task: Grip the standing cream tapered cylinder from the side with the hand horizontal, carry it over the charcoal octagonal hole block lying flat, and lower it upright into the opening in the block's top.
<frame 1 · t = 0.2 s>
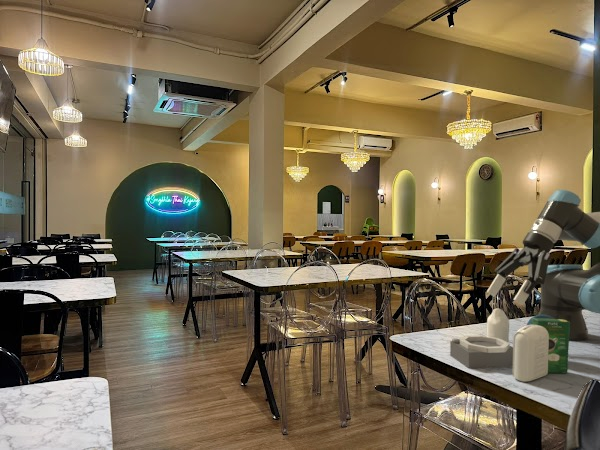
hand: (503, 298, 123), 15 cm above the table, tool tilted 35°, fingers open, 13 cm apart
octagonal hole block: (484, 360, 113), on the table
photo printer: (530, 377, 101), on the table, touching coffee box
coffee box: (549, 372, 105), on the table, touching photo printer
light bulb: (543, 359, 115), on the table
cream tapered cylinder: (497, 349, 124), on the table
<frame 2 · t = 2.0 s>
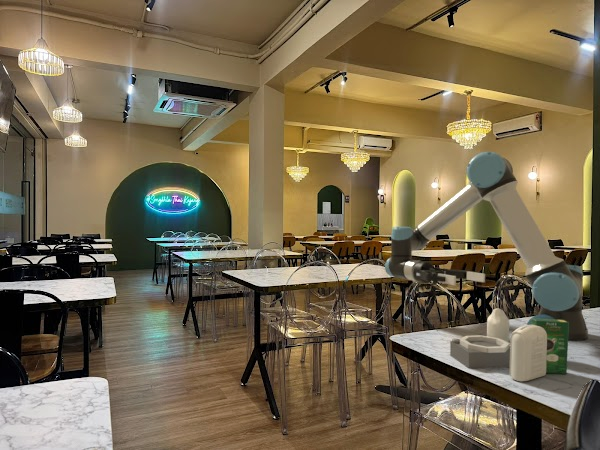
hand: (470, 279, 132), 19 cm above the table, tool horizontal, fingers open, 13 cm apart
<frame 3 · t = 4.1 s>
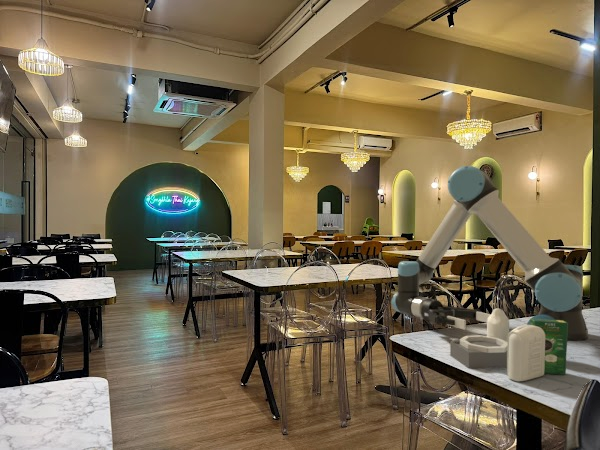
hand: (480, 322, 128), 6 cm above the table, tool horizontal, fingers open, 13 cm apart
coffee box: (546, 373, 104), on the table, touching photo printer
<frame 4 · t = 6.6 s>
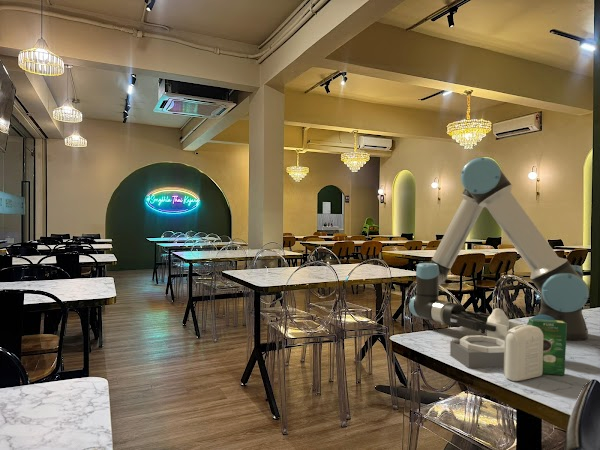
hand: (514, 329, 119), 7 cm above the table, tool horizontal, fingers closed on cream tapered cylinder, 6 cm apart
cream tapered cylinder: (497, 349, 124), on the table, touching gripper
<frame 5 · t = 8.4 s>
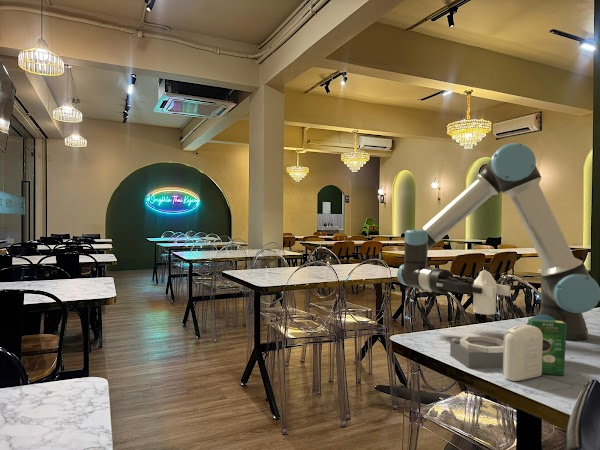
hand: (501, 291, 113), 18 cm above the table, tool horizontal, fingers closed on cream tapered cylinder, 6 cm apart
photo printer: (522, 377, 101), on the table, touching coffee box
cream tapered cylinder: (484, 313, 118), point 11 cm above the table, touching gripper
everything else where it was.
when the fingers open (12 cm above the table, at t = 10.5 s): cream tapered cylinder drops 1 cm, resting on octagonal hole block.
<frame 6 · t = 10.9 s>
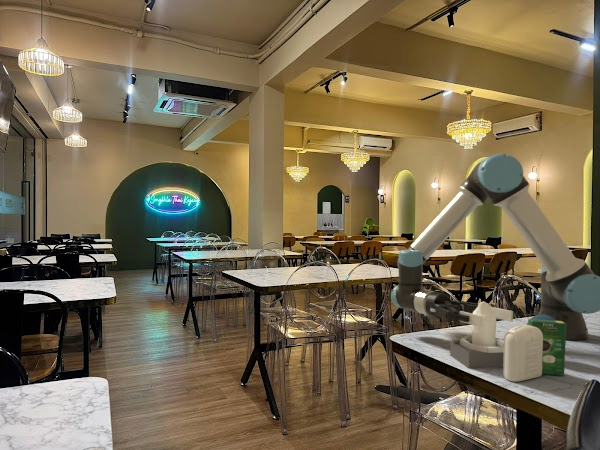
hand: (497, 318, 109), 12 cm above the table, tool horizontal, fingers open, 11 cm apart
photo printer: (522, 378, 101), on the table, touching coffee box
coffee box: (545, 374, 104), on the table, touching photo printer
cream tapered cylinder: (483, 346, 113), point 4 cm above the table, touching octagonal hole block
everything else where it was.
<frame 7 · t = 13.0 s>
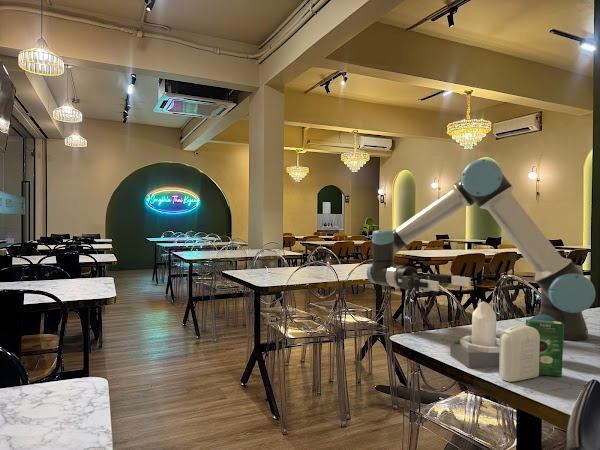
hand: (454, 284, 123), 19 cm above the table, tool horizontal, fingers open, 13 cm apart
photo printer: (519, 378, 101), on the table, touching coffee box
coffee box: (542, 374, 103), on the table, touching photo printer
everything else where it was.
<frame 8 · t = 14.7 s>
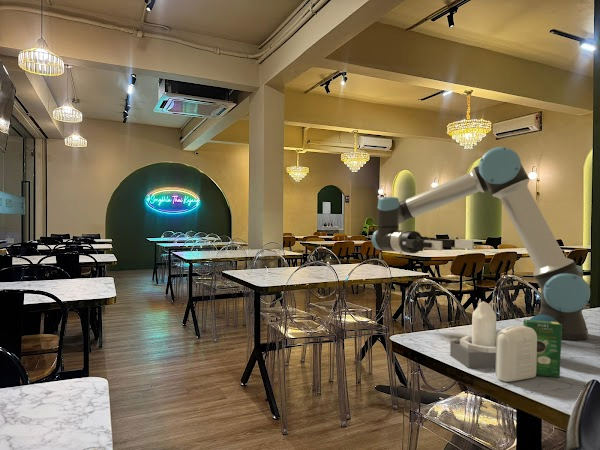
hand: (457, 245, 126), 30 cm above the table, tool horizontal, fingers open, 13 cm apart
at the end: cream tapered cylinder 0.1 cm off-centre on the octagonal hole block, point 3.8 cm above the octagonal hole block's base; cream tapered cylinder tilted 0°; the gripper is holding nothing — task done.
